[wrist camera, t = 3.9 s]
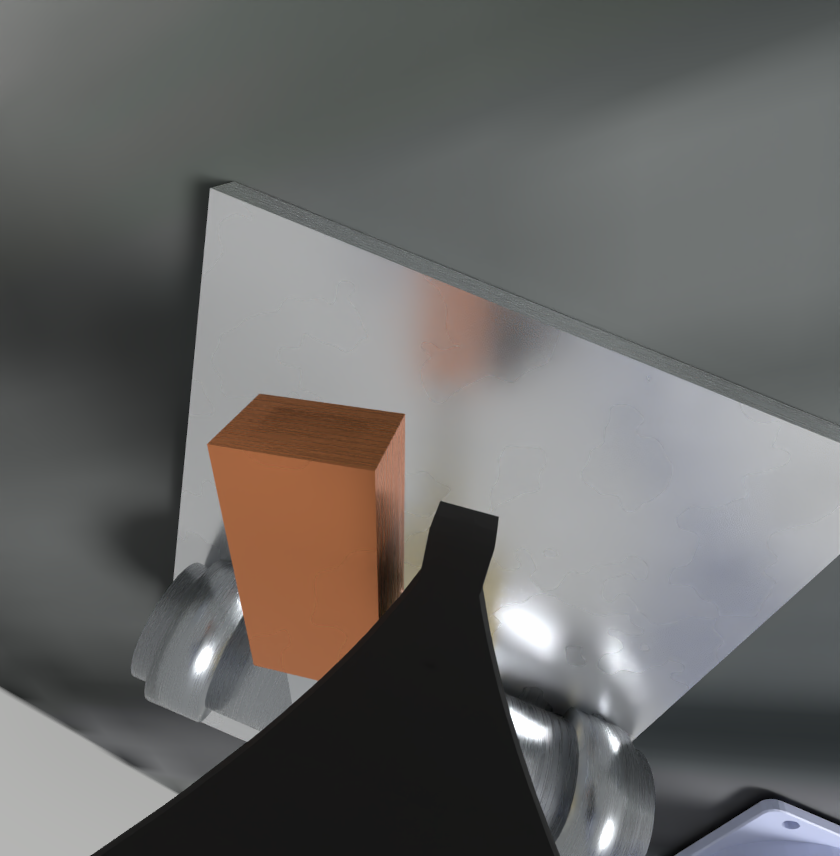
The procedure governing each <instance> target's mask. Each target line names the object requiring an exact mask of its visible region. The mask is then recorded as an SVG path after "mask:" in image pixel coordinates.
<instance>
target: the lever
mask: <svg viewBox="0 0 840 856" xmlns="http://www.w3.org/2000/svg"><path fill="white" fill-rule="evenodd" d="M207 447H208V452H209V457H210V461H211V466H212V471H213V475H214V480H215V485H216V489H217V494H218V499H219V503H220V508H221V513H222V518H223V522H224V527H225V532H226V536H227V541H228V546H229V550H230V555H231V560H232V565H233V569H234V574H235V579H236V583H237V588H238V593H239V597H240V602H241V607H242V612H243V616H244V621H245V626H246V630H247V635H248V640H249V644H250V649H251V654H252V658H253V663H254V665H255V666H259V667H263V668H267V669H272V670H276V671H280V672H284V673H287V676H288V682H289V688H290V694H291V700H292V704H293V703H294V702H295V701H296V700H297V699H298V698H300V697H301V696H302V695H303V694H304V693H305V692H306V691H308V690H309V689H310V688H311V687H312V686H313V685H314V684H315V683H317V682H318V681H319V680H320V679H321V678H322V677H323V676H324V675H325V674H326V673H327V672H328V671H329V670H330V669H331V668H332V667H333V666H334V665H335V664H336V663H338V662H339V661H340V660H341V659H342V658H343V657H344V656H345V655H346V654H347V653H348V652H349V651H350V650H351V649H352V648H353V647H354V646H355V645H356V644H357V642H358V641H359V640H360V639H361V638H362V637H363V636H364V635H365V634H366V633H367V632H368V631H369V630H370V629H371V628H372V626H373V625H374V624H375V623H376V622H377V621H378V620H379V619H380V617H381V616H382V615H383V614H384V613H385V612H386V611H387V610H388V608H389V607H390V606H391V605H392V604H393V603H394V602H395V601H396V599H397V598H398V597H399V596H400V595H401V593H402V592H403V591H404V495H405V414H403V413H396V412H388V411H381V410H374V409H367V408H360V407H353V406H345V405H338V404H331V403H324V402H317V401H310V400H303V399H295V398H288V397H281V396H274V395H267V394H259V395H258V396H256V397H255V398H254V399H253V400H252V401H251V402H250V403H249V404H248V405H247V406H246V407H245V408H244V409H243V410H242V411H241V412H240V413H239V414H238V415H237V416H236V417H235V418H234V419H233V420H231V421H230V422H229V423H228V424H227V425H226V426H225V427H224V428H223V429H222V430H221V431H220V432H219V433H218V434H217V435H216V436H215V437H214V438H213V439H212V440H211V441H210V442H209V443H208V444H207Z"/></svg>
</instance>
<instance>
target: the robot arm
mask: <svg viewBox="0 0 840 856" xmlns="http://www.w3.org/2000/svg"><path fill="white" fill-rule="evenodd" d="M498 521H499V517H498V516H495V515H491V514H487V513H483V512H480V511H476V510H472V509H469V508H465V507H461V506H458V505H454V504H450V503H447V502H443V501H440V503H439V505H438V508H437V510H436V513H435V515H434V518H433V521H432V523H431V526H430V529H429V533H428V538H427V543H426V547H425V552H424V557H423V562H422V566H421V569H420V570H419V572H418V573H417V574H416V576H415V577H414V578H413V579H412V581H411V582H410V583H409V585H408V586H407V587H406V589H405V590H404V591H403V592H402V593H401V595H400V596H399V597H398V598H397V599H396V601H395V602H394V603H393V604H392V605H391V606H390V607H389V608H388V610H387V611H386V612H385V613H384V614H383V615H382V616H381V617H380V619H379V620H378V621H377V622H376V623H375V624H374V625H373V626H372V628H371V629H370V630H369V631H368V632H367V633H366V634H365V635H364V636H363V637H362V638H361V639H360V640H359V641H358V642H357V644H356V645H355V646H354V647H353V648H352V649H351V650H350V651H349V652H348V653H347V654H346V655H345V656H344V657H343V658H342V659H341V660H340V661H339V662H338V663H336V664H335V665H334V666H333V667H332V668H331V669H330V670H329V671H328V672H327V673H326V674H325V675H324V676H323V677H322V678H321V679H320V680H319V681H318V682H317V683H315V684H314V685H313V686H312V687H311V688H310V689H309V690H308V691H306V692H305V693H304V694H303V695H302V696H301V697H300V698H298V699H297V700H296V701H295V702H294V703H293V704H292V705H291V706H289V707H288V708H287V709H286V710H285V711H284V712H283V713H282V714H280V715H279V716H278V717H277V718H276V719H275V720H273V721H272V722H271V723H270V724H269V725H267V726H266V727H265V728H264V729H263V730H261V731H260V732H259V733H258V734H256V735H255V736H254V737H253V738H252V739H250V740H249V741H248V742H246V743H245V744H244V745H243V746H241V747H240V748H239V749H237V750H236V751H235V752H233V753H232V754H231V755H230V756H228V757H227V758H226V759H224V760H223V761H222V762H220V763H219V764H218V765H217V766H215V767H214V768H213V769H211V770H210V771H209V772H208V773H206V774H205V775H204V776H202V777H201V778H200V779H198V780H197V781H196V782H195V783H193V784H192V785H191V786H189V787H188V788H187V789H185V790H184V791H183V792H181V793H180V794H179V795H177V796H176V797H174V799H172V800H170V801H169V802H168V803H166V804H165V805H164V806H162V807H161V808H159V809H158V810H156V811H155V812H153V813H152V814H150V815H149V816H148V817H146V818H145V819H143V820H142V821H140V822H139V823H138V824H136V825H134V826H133V827H132V828H130V829H129V830H127V831H126V832H124V833H123V834H121V835H120V836H118V837H117V838H116V839H114V840H113V841H111V842H110V843H108V844H107V845H105V846H104V847H103V848H101V849H100V850H98V851H97V852H95V853H94V854H92V855H91V856H560V854H559V851H558V849H557V846H556V844H555V841H554V839H553V836H552V833H551V831H550V828H549V826H548V823H547V820H546V818H545V815H544V813H543V810H542V807H541V805H540V802H539V800H538V797H537V794H536V791H535V788H534V785H533V782H532V779H531V776H530V773H529V770H528V767H527V764H526V761H525V758H524V755H523V752H522V749H521V746H520V743H519V740H518V736H517V733H516V730H515V727H514V723H513V720H512V717H511V713H510V710H509V706H508V703H507V699H506V695H505V691H504V688H503V684H502V680H501V676H500V672H499V667H498V663H497V659H496V655H495V650H494V646H493V641H492V636H491V631H490V627H489V621H488V615H487V609H486V603H485V597H484V591H483V585H484V582H485V578H486V575H487V572H488V568H489V565H490V562H491V559H492V555H493V552H494V549H495V544H496V536H497V529H498ZM674 856H840V825H837V824H835V823H832V822H830V821H828V820H825V819H823V818H821V817H818V816H816V815H814V814H811V813H809V812H807V811H804V810H802V809H800V808H797V807H795V806H792V805H790V804H788V803H785V802H783V801H780V800H777V799H765V800H763V801H760V802H759V803H757V804H756V805H754V806H752V807H751V808H749V809H748V810H746V811H744V812H743V813H741V814H740V815H738V816H737V817H735V818H733V819H732V820H730V821H729V822H727V823H725V824H724V825H722V826H721V827H719V828H717V829H716V830H714V831H713V832H711V833H709V834H708V835H706V836H705V837H703V838H701V839H700V840H698V841H697V842H695V843H694V844H692V845H690V846H689V847H687V848H686V849H684V850H682V851H681V852H679V853H678V854H676V855H674Z"/></svg>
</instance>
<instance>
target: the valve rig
mask: <svg viewBox="0 0 840 856" xmlns="http://www.w3.org/2000/svg"><path fill="white" fill-rule="evenodd" d="M259 394H267V395H274V396H281V397H288V398H295V399H303V400H310V401H317V402H324V403H331V404H338V405H345V406H353V407H360V408H367V409H374V410H381V411H388V412H396V413H403V414H405V495H404V590H405V589H406V587H407V586H408V585H409V583H410V582H411V581H412V579H413V578H414V577H415V576H416V574H417V573H418V572H419V570H420V569H421V566H422V562H423V557H424V552H425V547H426V543H427V538H428V533H429V529H430V526H431V523H432V521H433V518H434V515H435V513H436V510H437V508H438V505H439V503H440V501H443V502H447V503H450V504H454V505H458V506H461V507H465V508H469V509H472V510H476V511H480V512H483V513H487V514H491V515H495V516H498V517H499V521H498V529H497V536H496V544H495V549H494V552H493V555H492V559H491V562H490V565H489V568H488V572H487V575H486V578H485V582H484V585H483V591H484V597H485V603H486V609H487V615H488V621H489V627H490V631H491V636H492V641H493V646H494V650H495V655H496V659H497V663H498V667H499V672H500V676H501V680H502V684H503V688H504V691H505V695H506V699H507V703H508V706H509V710H510V713H511V717H512V720H513V723H514V727H515V730H516V733H517V736H518V740H519V743H520V746H521V749H522V752H523V755H524V758H525V761H526V764H527V767H528V770H529V773H530V776H531V779H532V782H533V785H534V788H535V791H536V794H537V797H538V800H539V802H540V805H541V807H542V810H543V813H544V815H545V818H546V820H547V823H548V826H549V828H550V831H551V833H552V836H553V839H554V841H555V844H556V846H557V849H558V851H559V854H560V856H645V855H646V853H647V850H648V847H649V843H650V839H651V835H652V830H653V824H654V816H655V790H654V782H653V776H652V772H651V769H650V766H649V764H648V761H647V759H646V758H645V756H644V755H643V754H642V753H641V752H640V751H639V750H637V749H635V748H634V746H633V744H632V741H633V740H634V739H635V738H636V737H637V736H638V735H639V734H641V733H642V732H643V731H644V730H645V729H646V728H647V727H648V726H649V725H651V724H652V723H653V722H654V721H655V720H656V719H657V718H658V717H659V716H660V715H662V714H663V713H664V712H665V711H666V710H667V709H668V708H669V707H670V706H672V705H673V704H674V703H675V702H676V701H677V700H678V699H679V698H680V697H682V696H683V695H684V694H685V693H686V692H687V691H688V690H689V689H690V688H692V687H693V686H694V685H695V684H696V683H697V682H698V681H699V680H700V679H702V678H703V677H704V676H705V675H706V674H707V673H708V672H709V671H710V670H712V669H713V668H714V667H715V666H716V665H717V664H718V663H719V662H720V661H722V660H723V659H724V658H725V657H726V656H727V655H728V654H729V653H730V652H732V651H733V650H734V649H735V648H736V647H737V646H738V645H739V644H740V643H742V642H743V641H744V640H745V639H746V638H747V637H748V636H749V635H750V634H752V633H753V632H754V631H755V630H756V629H757V628H758V627H759V626H760V625H762V624H763V623H764V622H765V621H766V620H767V619H768V618H769V617H770V616H772V615H773V614H774V613H775V612H776V611H777V610H778V609H779V608H780V607H782V606H783V605H784V604H785V603H786V602H787V601H788V600H789V599H790V598H792V597H793V596H794V595H795V594H796V593H797V592H798V591H799V590H800V589H802V588H803V587H804V586H805V585H806V584H807V583H808V582H809V581H810V580H812V579H813V578H814V577H815V576H816V575H817V574H818V573H819V572H820V571H822V570H823V569H824V568H825V567H826V566H827V565H828V564H829V563H830V562H832V561H833V560H834V559H835V558H836V557H837V556H838V555H839V554H840V426H838V425H835V424H833V423H831V422H828V421H826V420H823V419H821V418H818V417H816V416H813V415H811V414H808V413H806V412H803V411H801V410H798V409H796V408H793V407H791V406H788V405H786V404H784V403H781V402H779V401H776V400H774V399H771V398H769V397H766V396H764V395H761V394H759V393H756V392H754V391H751V390H749V389H746V388H744V387H741V386H739V385H736V384H734V383H732V382H729V381H727V380H724V379H722V378H719V377H717V376H714V375H712V374H709V373H707V372H704V371H702V370H699V369H697V368H694V367H692V366H689V365H687V364H685V363H682V362H680V361H677V360H675V359H672V358H670V357H667V356H665V355H662V354H660V353H657V352H655V351H652V350H650V349H647V348H645V347H642V346H640V345H638V344H635V343H633V342H630V341H628V340H625V339H623V338H620V337H618V336H615V335H613V334H610V333H608V332H605V331H603V330H600V329H598V328H595V327H593V326H590V325H588V324H586V323H583V322H581V321H578V320H576V319H573V318H571V317H568V316H566V315H563V314H561V313H558V312H556V311H553V310H551V309H548V308H546V307H543V306H541V305H539V304H536V303H534V302H531V301H529V300H526V299H524V298H521V297H519V296H516V295H514V294H511V293H509V292H506V291H504V290H501V289H499V288H496V287H494V286H492V285H489V284H487V283H484V282H482V281H479V280H477V279H474V278H472V277H469V276H467V275H464V274H462V273H459V272H457V271H454V270H452V269H449V268H447V267H444V266H442V265H440V264H437V263H435V262H432V261H430V260H427V259H425V258H422V257H420V256H417V255H415V254H412V253H410V252H407V251H405V250H402V249H400V248H397V247H395V246H393V245H390V244H388V243H385V242H383V241H380V240H378V239H375V238H373V237H370V236H368V235H365V234H363V233H360V232H358V231H355V230H353V229H350V228H348V227H346V226H343V225H341V224H338V223H336V222H333V221H331V220H328V219H326V218H323V217H321V216H318V215H316V214H313V213H311V212H308V211H306V210H303V209H301V208H298V207H296V206H294V205H291V204H289V203H286V202H284V201H281V200H279V199H276V198H274V197H271V196H269V195H266V194H264V193H261V192H259V191H256V190H254V189H251V188H249V187H247V186H244V185H242V184H239V183H237V182H230V183H227V184H223V185H219V186H215V187H212V188H210V194H209V205H208V215H207V226H206V237H205V247H204V258H203V269H202V279H201V290H200V301H199V311H198V322H197V333H196V344H195V354H194V365H193V376H192V386H191V397H190V408H189V418H188V429H187V440H186V450H185V461H184V472H183V483H182V493H181V504H180V515H179V525H178V536H177V547H176V557H175V568H174V579H173V582H172V583H171V585H170V586H169V587H168V589H167V590H166V591H165V593H164V594H163V596H162V597H161V599H160V600H159V602H158V603H157V605H156V607H155V608H154V610H153V612H152V613H151V615H150V617H149V619H148V621H147V623H146V625H145V627H144V629H143V631H142V633H141V635H140V638H139V640H138V642H137V645H136V648H135V651H134V654H133V658H132V663H131V673H132V675H133V676H134V677H136V678H138V679H141V680H143V681H145V682H146V683H145V689H144V695H145V698H146V699H147V700H148V701H150V702H153V703H155V704H157V705H159V706H162V707H164V708H166V709H169V710H171V711H173V712H176V713H178V714H180V715H182V716H185V717H187V718H189V719H192V720H194V721H196V722H202V723H205V724H207V725H209V726H211V727H214V728H216V729H218V730H221V731H223V732H225V733H228V734H230V735H232V736H234V737H237V738H239V739H241V740H244V741H246V742H248V741H249V740H250V739H252V738H253V737H254V736H255V735H256V734H258V733H259V732H260V731H261V730H263V729H264V728H265V727H266V726H267V725H269V724H270V723H271V722H272V721H273V720H275V719H276V718H277V717H278V716H279V715H280V714H282V713H283V712H284V711H285V710H286V709H287V708H288V707H289V706H291V705H292V700H291V694H290V688H289V682H288V676H287V673H284V672H280V671H276V670H272V669H267V668H263V667H259V666H255V665H254V663H253V658H252V654H251V649H250V644H249V640H248V635H247V630H246V626H245V621H244V616H243V612H242V607H241V602H240V597H239V593H238V588H237V583H236V579H235V574H234V569H233V565H232V560H231V555H230V550H229V546H228V541H227V536H226V532H225V527H224V522H223V518H222V513H221V508H220V503H219V499H218V494H217V489H216V485H215V480H214V475H213V471H212V466H211V461H210V457H209V452H208V447H207V444H208V443H209V442H210V441H211V440H212V439H213V438H214V437H215V436H216V435H217V434H218V433H219V432H220V431H221V430H222V429H223V428H224V427H225V426H226V425H227V424H228V423H229V422H230V421H231V420H233V419H234V418H235V417H236V416H237V415H238V414H239V413H240V412H241V411H242V410H243V409H244V408H245V407H246V406H247V405H248V404H249V403H250V402H251V401H252V400H253V399H254V398H255V397H256V396H258V395H259Z"/></svg>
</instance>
